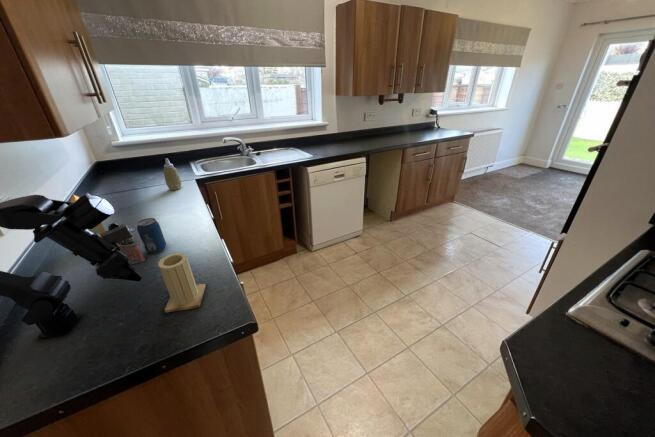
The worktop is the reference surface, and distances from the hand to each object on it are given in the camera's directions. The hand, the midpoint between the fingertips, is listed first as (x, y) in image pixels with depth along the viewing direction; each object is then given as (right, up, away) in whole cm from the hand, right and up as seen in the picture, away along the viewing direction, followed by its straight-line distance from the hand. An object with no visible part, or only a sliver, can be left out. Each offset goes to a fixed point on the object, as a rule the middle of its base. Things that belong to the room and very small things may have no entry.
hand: (137, 275), depth 72 cm
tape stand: (+10, -8, +6) cm, 15 cm away
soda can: (-13, +3, +30) cm, 33 cm away
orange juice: (-40, +5, +34) cm, 53 cm away
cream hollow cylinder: (+10, -7, +6) cm, 14 cm away
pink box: (-18, 0, +23) cm, 30 cm away
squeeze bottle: (-38, +33, +86) cm, 99 cm away
